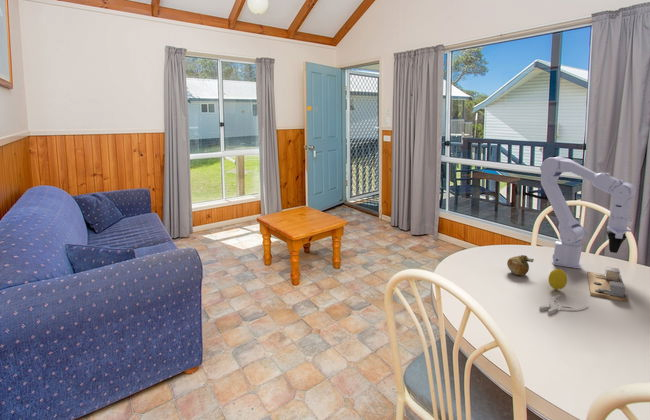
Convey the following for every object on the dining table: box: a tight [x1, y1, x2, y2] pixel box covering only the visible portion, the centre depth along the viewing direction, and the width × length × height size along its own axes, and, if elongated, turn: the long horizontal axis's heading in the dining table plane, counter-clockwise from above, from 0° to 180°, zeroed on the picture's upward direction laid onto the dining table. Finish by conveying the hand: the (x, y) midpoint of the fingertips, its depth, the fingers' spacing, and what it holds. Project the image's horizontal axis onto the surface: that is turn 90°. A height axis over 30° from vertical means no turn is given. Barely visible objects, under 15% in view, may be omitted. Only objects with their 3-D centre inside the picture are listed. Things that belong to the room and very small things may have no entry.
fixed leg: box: [598, 281, 626, 297], centre depth 132 cm, size 7×4×4 cm, turn 60°
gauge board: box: [586, 271, 628, 303], centre depth 140 cm, size 10×20×2 cm, turn 150°
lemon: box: [548, 268, 568, 291], centre depth 137 cm, size 6×6×8 cm
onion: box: [506, 254, 535, 276], centre depth 151 cm, size 8×8×8 cm
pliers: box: [538, 294, 589, 316], centre depth 127 cm, size 10×2×15 cm
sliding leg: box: [595, 266, 621, 281], centre depth 144 cm, size 7×4×4 cm, turn 60°
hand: (613, 251), depth 147 cm, fingers closed
